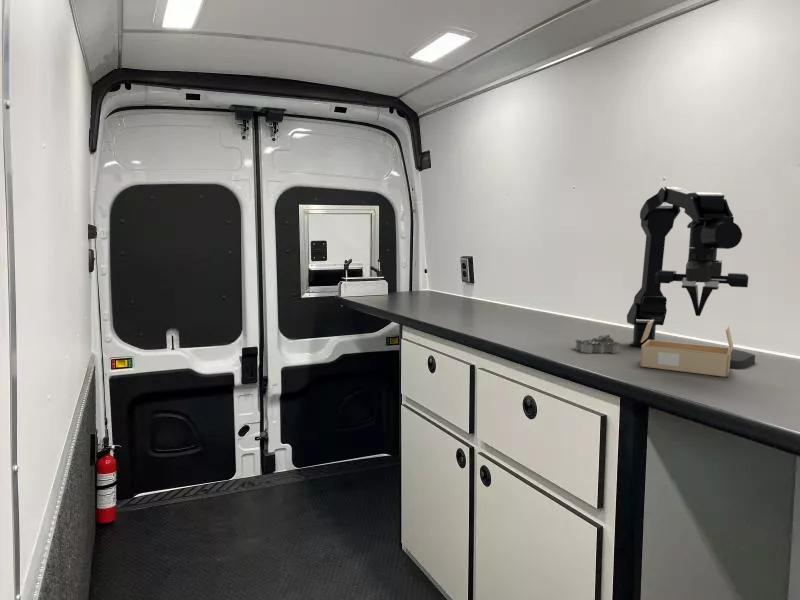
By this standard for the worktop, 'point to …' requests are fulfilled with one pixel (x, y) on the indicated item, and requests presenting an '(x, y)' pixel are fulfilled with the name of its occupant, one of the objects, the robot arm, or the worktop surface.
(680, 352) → the carton
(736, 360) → the media streaming box
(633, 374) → the worktop surface
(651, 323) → the flap
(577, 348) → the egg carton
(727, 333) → the flap
